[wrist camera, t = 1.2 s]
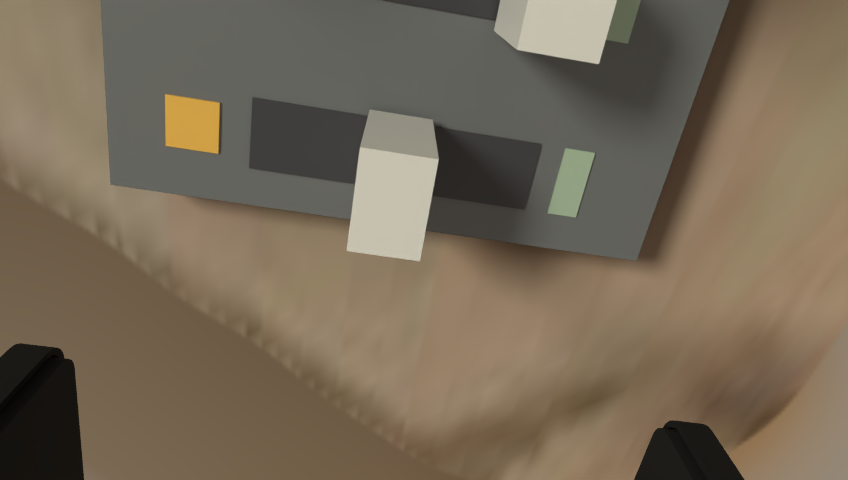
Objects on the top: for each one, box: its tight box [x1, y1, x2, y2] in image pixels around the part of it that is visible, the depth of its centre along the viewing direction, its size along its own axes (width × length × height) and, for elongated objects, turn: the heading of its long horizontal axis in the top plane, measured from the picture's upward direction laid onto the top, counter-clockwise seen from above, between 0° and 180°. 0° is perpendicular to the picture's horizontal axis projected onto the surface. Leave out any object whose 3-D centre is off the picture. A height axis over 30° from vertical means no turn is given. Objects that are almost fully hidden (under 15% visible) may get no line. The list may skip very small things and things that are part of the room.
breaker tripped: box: [347, 109, 439, 261], centre depth 21 cm, size 4×2×5 cm
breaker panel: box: [101, 0, 730, 261], centre depth 23 cm, size 13×22×3 cm, turn 80°
